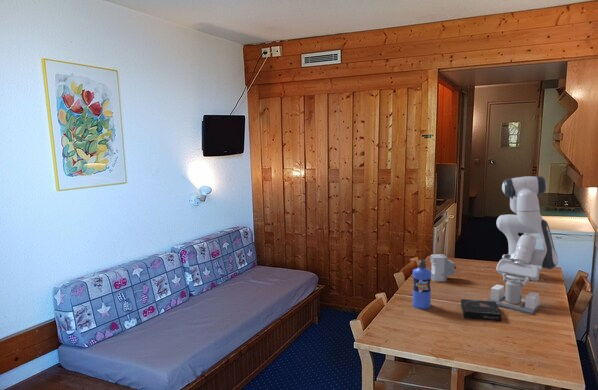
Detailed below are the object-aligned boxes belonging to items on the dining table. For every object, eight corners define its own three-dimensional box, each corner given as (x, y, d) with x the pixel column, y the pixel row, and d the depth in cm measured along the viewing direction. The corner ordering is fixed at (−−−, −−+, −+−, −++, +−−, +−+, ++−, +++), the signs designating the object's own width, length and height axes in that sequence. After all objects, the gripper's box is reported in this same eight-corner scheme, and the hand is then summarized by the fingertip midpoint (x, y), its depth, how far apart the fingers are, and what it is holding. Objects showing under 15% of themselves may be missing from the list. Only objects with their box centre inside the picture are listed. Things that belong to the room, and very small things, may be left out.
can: (504, 303, 216) (505, 281, 215) (505, 298, 223) (506, 276, 221) (521, 305, 213) (522, 283, 211) (521, 300, 219) (522, 278, 218)
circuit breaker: (456, 281, 256) (457, 257, 254) (433, 281, 256) (433, 257, 254) (452, 277, 263) (453, 254, 261) (429, 277, 264) (430, 254, 262)
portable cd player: (494, 308, 215) (495, 301, 215) (501, 322, 199) (501, 314, 198) (460, 305, 220) (460, 298, 219) (464, 319, 203) (464, 311, 203)
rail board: (497, 295, 231) (497, 282, 230) (541, 305, 216) (541, 292, 215) (486, 303, 221) (486, 290, 220) (531, 314, 205) (532, 300, 204)
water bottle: (431, 309, 215) (432, 262, 211) (413, 308, 216) (413, 262, 213) (429, 302, 224) (430, 257, 220) (411, 302, 226) (412, 257, 222)
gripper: (543, 267, 216) (536, 291, 210) (502, 260, 230) (494, 282, 225) (541, 261, 212) (534, 284, 207) (499, 254, 227) (491, 276, 221)
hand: (513, 283), depth 216 cm, fingers closed on can, 7 cm apart
